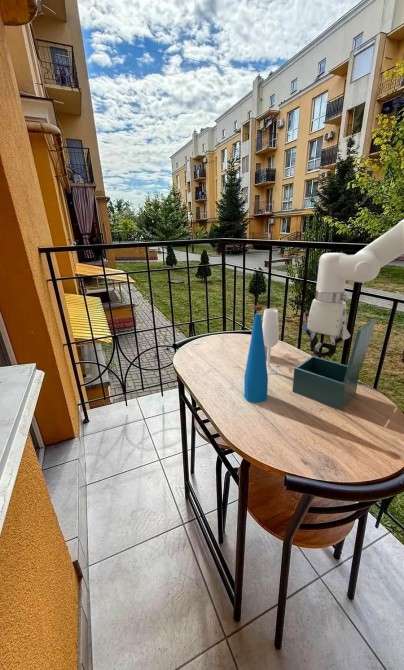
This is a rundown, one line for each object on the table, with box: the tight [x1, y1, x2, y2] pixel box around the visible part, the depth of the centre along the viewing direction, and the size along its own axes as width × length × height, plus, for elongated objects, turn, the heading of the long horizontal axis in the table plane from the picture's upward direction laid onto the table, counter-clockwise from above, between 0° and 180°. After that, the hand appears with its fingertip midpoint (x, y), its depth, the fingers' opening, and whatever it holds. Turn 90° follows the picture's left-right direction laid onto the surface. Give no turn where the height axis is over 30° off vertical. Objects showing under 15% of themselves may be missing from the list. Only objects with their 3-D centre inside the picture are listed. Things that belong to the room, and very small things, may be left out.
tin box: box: [291, 355, 361, 411], centre depth 91 cm, size 16×13×9 cm
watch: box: [312, 341, 330, 358], centre depth 88 cm, size 8×5×4 cm, turn 131°
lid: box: [344, 318, 377, 384], centre depth 80 cm, size 16×13×1 cm
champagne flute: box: [262, 308, 280, 376], centre depth 104 cm, size 7×7×24 cm
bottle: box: [243, 304, 269, 404], centre depth 86 cm, size 7×7×30 cm
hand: (322, 352), depth 89 cm, fingers closed on watch, 4 cm apart
